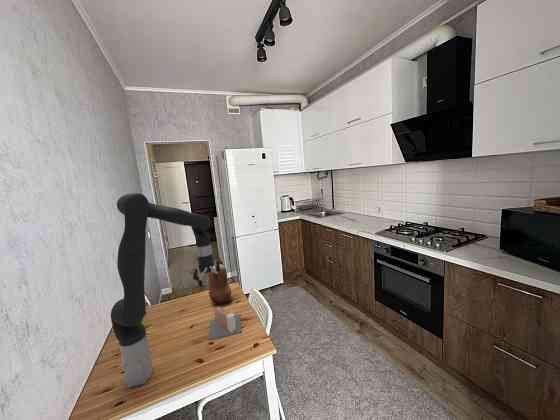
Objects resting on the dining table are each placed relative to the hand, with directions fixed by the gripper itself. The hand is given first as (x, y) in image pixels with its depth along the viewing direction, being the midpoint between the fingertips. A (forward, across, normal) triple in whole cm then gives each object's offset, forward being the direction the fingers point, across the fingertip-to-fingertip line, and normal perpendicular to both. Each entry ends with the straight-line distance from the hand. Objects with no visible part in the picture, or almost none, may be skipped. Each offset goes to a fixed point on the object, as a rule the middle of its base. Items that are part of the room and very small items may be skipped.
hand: (208, 283), depth 118 cm
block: (+20, +3, +1) cm, 20 cm away
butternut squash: (+24, +16, +18) cm, 34 cm away
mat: (+24, +4, -6) cm, 25 cm away
